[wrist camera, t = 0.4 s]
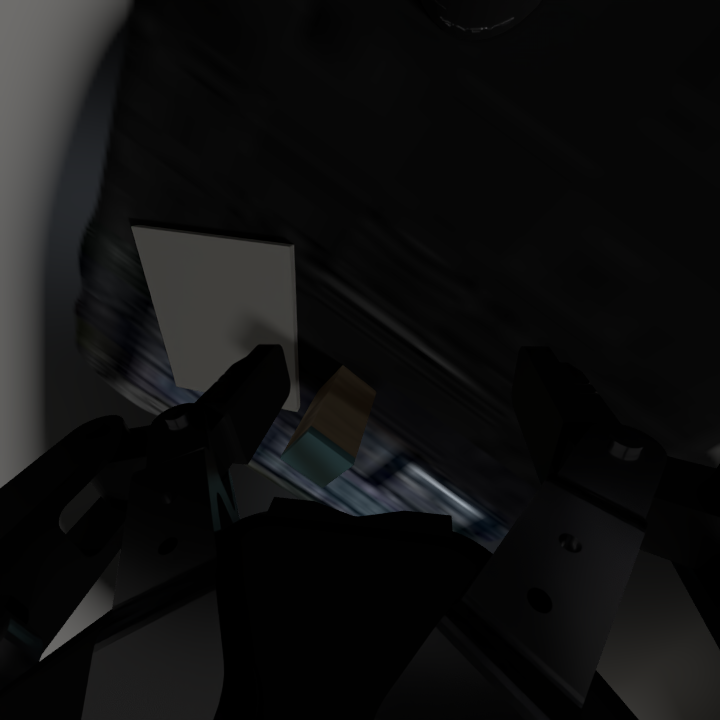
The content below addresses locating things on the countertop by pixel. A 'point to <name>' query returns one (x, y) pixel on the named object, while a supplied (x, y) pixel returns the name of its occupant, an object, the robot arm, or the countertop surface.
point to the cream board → (220, 301)
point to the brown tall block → (331, 428)
